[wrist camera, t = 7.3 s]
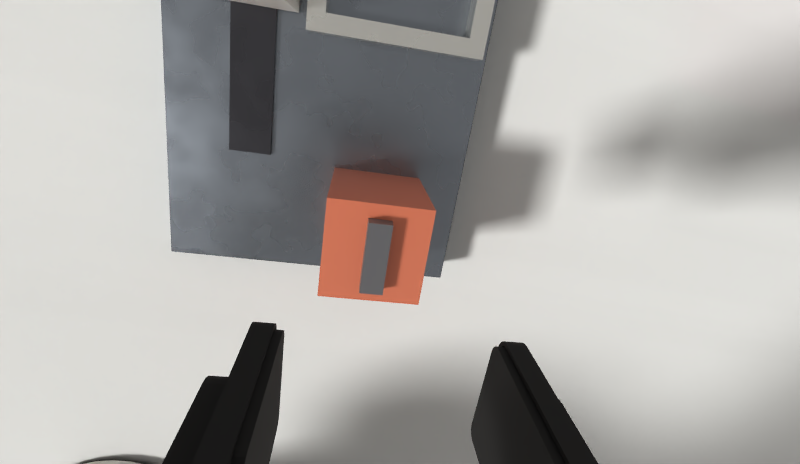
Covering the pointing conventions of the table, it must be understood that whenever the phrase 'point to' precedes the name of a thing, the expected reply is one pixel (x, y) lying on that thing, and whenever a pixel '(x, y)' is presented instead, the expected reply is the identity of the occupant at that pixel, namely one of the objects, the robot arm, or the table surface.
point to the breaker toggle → (275, 4)
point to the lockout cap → (375, 237)
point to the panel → (312, 114)
